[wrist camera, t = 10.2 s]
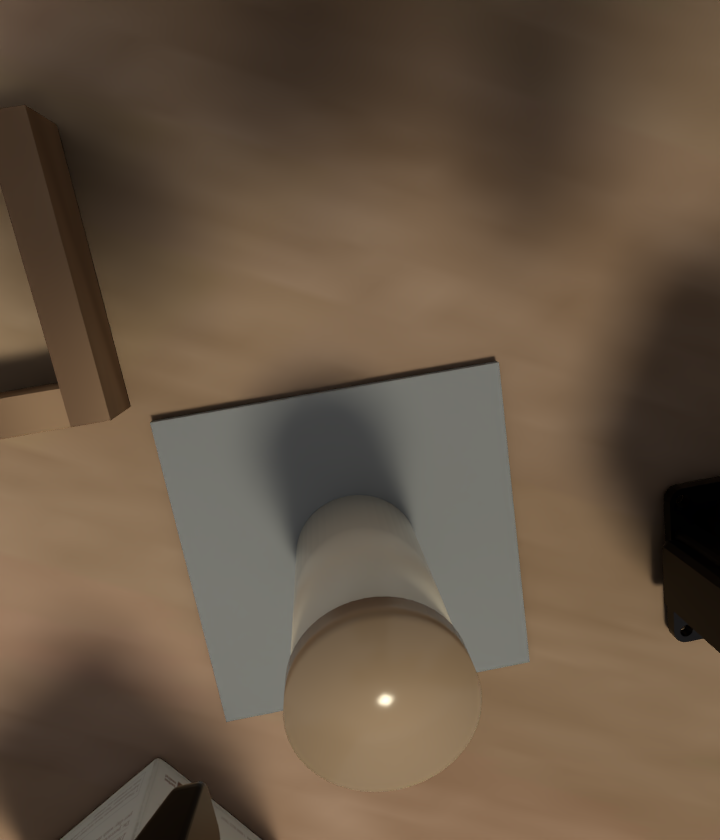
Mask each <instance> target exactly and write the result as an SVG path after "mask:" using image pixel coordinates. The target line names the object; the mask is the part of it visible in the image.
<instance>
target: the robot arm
mask: <svg viewBox="0 0 720 840" xmlns="http://www.w3.org/2000/svg"><path fill="white" fill-rule="evenodd" d="M681 495H683V498H682V500H681V501H680V502H679V503H676V501H677V498H678V497H679V496H681ZM664 525H665V543H664V545H663V548H662V550H663V577H664V601H665V604H666V605H667V608H668V628H669V632H670V633H671V634H672V635H673V636H674V637H675V638H676V639H677V640H679V641H681V642H688V641H693V640H698V639H705V640H706V641H707V642H708V643H709V644H710V645H712V646H713V647H714V648H715V649H716V650H717V651H718V652H719V653H720V477H715V478H710V479H704V480H699V481H694V482H688V483H683V484H677V485H674V486H671V487H670V488H669V489H668V490H667V491H666V493H665V494H664ZM685 625H686V627H685V628H684V629H683V630H681V628H682V627H683V626H685ZM134 840H220V832H219V826H218V822H217V819H216V815H215V811H214V808H213V804H212V800H211V797H210V793H209V790H208V787H207V785H206V784H205V783H204V782H200V781H199V782H194V783H189V784H184V785H180V786H177V787H175V788H174V789H173V790H172V791H171V792H170V793H169V794H168V796H167V797H166V798H165V800H164V801H163V802H162V804H161V805H160V806H159V808H158V809H157V810H156V812H155V813H154V814H153V816H152V817H151V818H150V820H149V821H148V822H147V824H146V825H145V826H144V827H143V829H142V830H141V831H140V833H139V834H138V835H137V837H136V838H135V839H134Z"/></svg>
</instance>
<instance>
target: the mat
mask: <svg viewBox="0 0 720 840" xmlns="http://www.w3.org/2000/svg"><path fill="white" fill-rule="evenodd" d="M150 424H151V428H152V432H153V436H154V440H155V444H156V448H157V452H158V456H159V460H160V463H161V467H162V471H163V475H164V479H165V483H166V487H167V491H168V495H169V499H170V503H171V507H172V510H173V514H174V518H175V522H176V526H177V530H178V534H179V538H180V542H181V546H182V550H183V554H184V558H185V561H186V565H187V569H188V573H189V577H190V581H191V585H192V589H193V593H194V597H195V601H196V605H197V608H198V612H199V616H200V620H201V624H202V628H203V632H204V636H205V640H206V644H207V648H208V652H209V656H210V659H211V663H212V667H213V671H214V675H215V679H216V683H217V687H218V691H219V695H220V699H221V703H222V707H223V710H224V714H225V718H226V722H228V721H233V720H238V719H243V718H248V717H253V716H258V715H263V714H268V713H273V712H279V711H283V704H284V689H285V676H286V669H287V665H288V662H289V658H290V656H291V640H292V622H293V604H294V586H295V568H296V550H297V543H298V539H299V535H300V533H301V530H302V528H303V526H304V525H305V523H306V522H307V520H308V519H309V518H310V517H311V515H312V514H313V513H315V512H316V511H317V510H318V509H319V508H321V507H322V506H323V505H325V504H327V503H329V502H330V501H333V500H335V499H338V498H341V497H345V496H351V495H367V496H373V497H377V498H380V499H382V500H385V501H387V502H389V503H391V504H392V505H394V506H395V507H396V508H398V509H399V510H400V511H401V512H402V513H403V514H404V515H405V516H406V518H407V519H408V520H409V522H410V524H411V526H412V528H413V530H414V532H415V535H416V537H417V540H418V542H419V545H420V547H421V550H422V552H423V554H424V557H425V559H426V562H427V564H428V567H429V569H430V571H431V574H432V576H433V579H434V581H435V584H436V586H437V589H438V591H439V593H440V596H441V598H442V601H443V603H444V606H445V608H446V610H447V613H448V615H449V618H450V620H451V623H452V625H453V626H454V628H455V629H456V630H457V631H458V633H459V634H460V636H461V638H462V640H463V641H464V644H465V646H466V648H467V651H468V653H469V655H470V658H471V660H472V662H473V665H474V667H475V670H476V672H481V671H486V670H491V669H496V668H501V667H506V666H512V665H517V664H522V663H527V662H530V661H529V651H528V642H527V632H526V622H525V612H524V603H523V593H522V583H521V574H520V564H519V554H518V544H517V535H516V525H515V515H514V506H513V496H512V486H511V476H510V467H509V457H508V447H507V437H506V428H505V418H504V408H503V399H502V389H501V379H500V369H499V362H497V361H495V362H489V363H483V364H478V365H472V366H466V367H460V368H454V369H449V370H443V371H437V372H431V373H426V374H420V375H414V376H408V377H402V378H397V379H391V380H385V381H379V382H374V383H368V384H362V385H356V386H351V387H345V388H339V389H333V390H327V391H322V392H316V393H310V394H304V395H299V396H293V397H287V398H281V399H275V400H270V401H264V402H258V403H252V404H247V405H241V406H235V407H229V408H224V409H218V410H212V411H206V412H200V413H195V414H189V415H183V416H177V417H172V418H166V419H160V420H154V421H152V422H151V423H150Z"/></svg>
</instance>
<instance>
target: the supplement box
mask: <svg viewBox="0 0 720 840" xmlns="http://www.w3.org/2000/svg"><path fill="white" fill-rule="evenodd" d="M189 783H191V782H190V781H189V780H188V779H186V778H185V777H184V776H182V775H181V774H180V773H179V772H177V771H176V770H175V769H174V768H172V767H171V766H170V765H168V764H167V763H166V762H164V761H163V760H161V759H159V758H157V759H155V760H154V761H153V762H151V763H150V764H149V765H148V766H147V767H145V768H144V769H143V770H142V771H141V772H139V773H138V774H137V775H136V776H135V777H133V778H132V779H131V780H130V781H129V782H127V783H126V784H125V785H124V786H123V787H121V788H120V789H119V790H118V791H117V792H116V793H114V794H113V795H112V796H111V797H110V798H109V799H107V800H106V801H105V802H104V803H103V804H101V805H100V806H99V807H98V808H97V809H96V810H94V811H93V812H92V813H91V814H90V815H88V816H87V817H86V818H85V819H84V820H83V821H81V822H80V823H79V824H78V825H77V826H75V827H74V828H73V829H72V830H71V831H70V832H68V833H67V834H66V835H65V836H64V837H63V838H61V839H60V840H134V839H135V838H136V837H137V835H138V834H139V833H140V831H141V830H142V829H143V827H144V826H145V825H146V824H147V822H148V821H149V820H150V818H151V817H152V816H153V814H154V813H155V812H156V810H157V809H158V808H159V806H160V805H161V804H162V802H163V801H164V800H165V798H166V797H167V796H168V794H169V793H170V792H171V791H172V790H173V789H174V788H175V787H177V786H180V785H184V784H189ZM211 800H212V799H211ZM212 804H213V808H214V811H215V815H216V819H217V822H218V826H219V832H220V840H262V839H260V838H259V837H258V836H257V835H255V834H254V833H253V832H251V831H250V830H249V829H248V828H247V827H246V826H244V825H243V824H242V823H241V822H239V821H238V820H237V819H236V818H235V817H233V816H232V815H231V814H230V813H229V812H227V811H226V810H225V809H224V808H222V807H221V806H220V805H219V804H217V803H216V802H215V801H214V800H212Z"/></svg>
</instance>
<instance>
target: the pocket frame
mask: <svg viewBox="0 0 720 840" xmlns="http://www.w3.org/2000/svg"><path fill="white" fill-rule="evenodd" d="M0 185H1V188H2V192H3V195H4V199H5V202H6V205H7V209H8V212H9V216H10V219H11V223H12V226H13V230H14V233H15V237H16V240H17V243H18V247H19V250H20V254H21V257H22V261H23V264H24V268H25V271H26V274H27V278H28V281H29V285H30V288H31V292H32V295H33V299H34V302H35V306H36V309H37V312H38V316H39V319H40V323H41V326H42V330H43V333H44V337H45V340H46V344H47V347H48V350H49V354H50V357H51V361H52V364H53V368H54V371H55V375H56V378H57V382H58V383H53V384H47V385H42V386H36V387H30V388H24V389H18V390H12V391H6V392H0V439H5V438H11V437H17V436H22V435H28V434H34V433H40V432H46V431H51V430H57V429H63V428H69V427H75V426H80V425H86V424H92V423H98V422H104V421H109V420H112V419H113V418H115V417H116V416H118V415H119V414H121V413H122V412H124V411H125V410H126V409H128V408H129V407H130V403H129V400H128V396H127V392H126V388H125V384H124V380H123V377H122V373H121V369H120V365H119V361H118V358H117V354H116V350H115V346H114V342H113V338H112V335H111V331H110V327H109V323H108V319H107V316H106V312H105V308H104V304H103V300H102V296H101V293H100V289H99V285H98V281H97V277H96V273H95V270H94V266H93V262H92V258H91V254H90V251H89V247H88V243H87V239H86V235H85V231H84V228H83V224H82V220H81V216H80V212H79V209H78V205H77V201H76V197H75V193H74V189H73V186H72V182H71V178H70V174H69V170H68V167H67V163H66V159H65V155H64V151H63V147H62V144H61V140H60V136H59V132H58V128H57V125H56V124H54V123H53V122H51V121H50V120H48V119H46V118H45V117H43V116H42V115H40V114H38V113H37V112H35V111H34V110H32V109H30V108H29V107H27V106H26V105H21V106H14V107H7V108H0Z"/></svg>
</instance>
